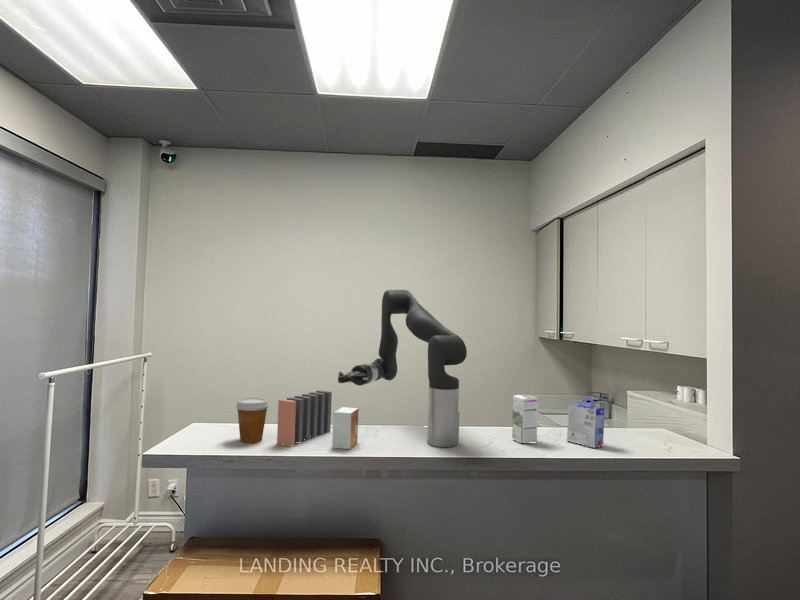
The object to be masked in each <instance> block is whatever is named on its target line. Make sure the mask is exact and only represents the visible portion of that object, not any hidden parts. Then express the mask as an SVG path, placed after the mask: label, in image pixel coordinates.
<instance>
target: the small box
mask: <svg viewBox="0 0 800 600" xmlns="http://www.w3.org/2000/svg"><path fill="white" fill-rule="evenodd" d="M359 411H360V410H359V408H357V407H348V406H347V407H345V406H344V407H343V406H342V407H340V408H339V409H337V410H335V411H334V412H332V413H333V414H332V445H331V446H332V447H331V448H333V449H344V450H351V449H352V448H353V447H354V446H355V445H356V444H358V438H359V437H358V433H359Z"/></svg>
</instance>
